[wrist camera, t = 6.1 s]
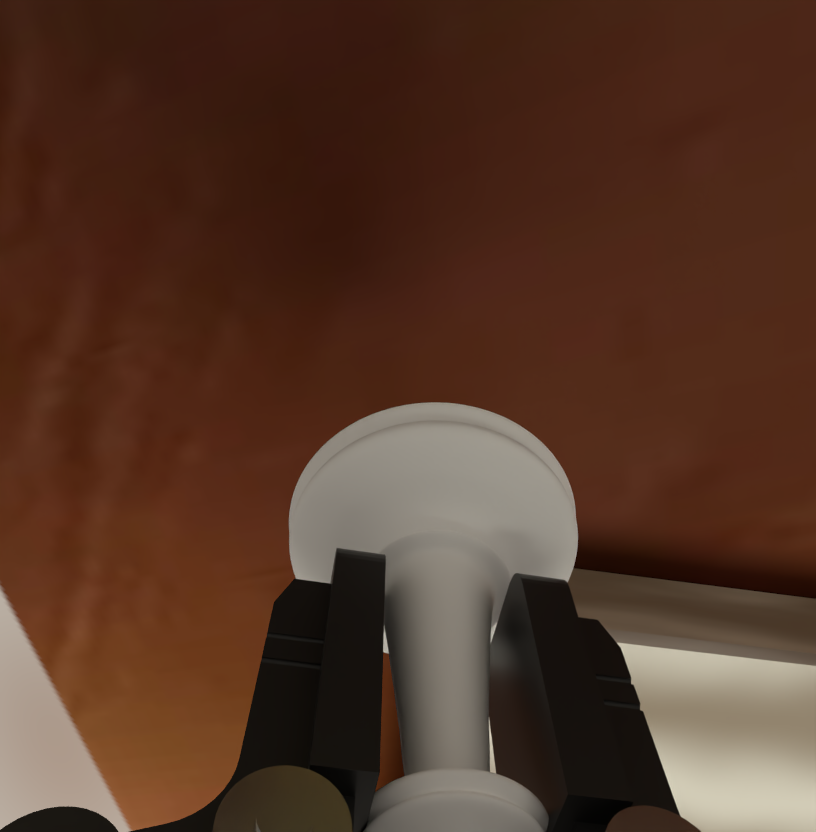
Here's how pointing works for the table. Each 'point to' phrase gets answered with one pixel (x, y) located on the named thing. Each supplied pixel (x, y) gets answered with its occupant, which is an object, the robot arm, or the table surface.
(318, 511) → the chess piece
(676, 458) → the table surface
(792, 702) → the stand
